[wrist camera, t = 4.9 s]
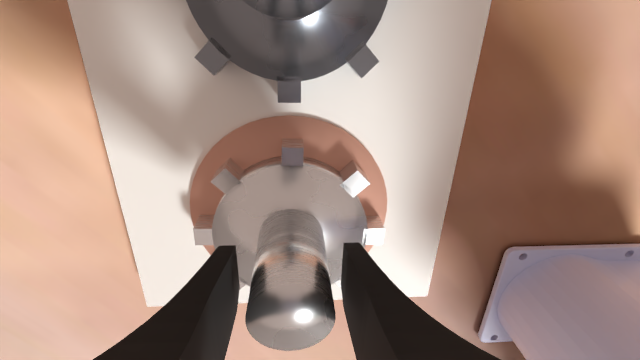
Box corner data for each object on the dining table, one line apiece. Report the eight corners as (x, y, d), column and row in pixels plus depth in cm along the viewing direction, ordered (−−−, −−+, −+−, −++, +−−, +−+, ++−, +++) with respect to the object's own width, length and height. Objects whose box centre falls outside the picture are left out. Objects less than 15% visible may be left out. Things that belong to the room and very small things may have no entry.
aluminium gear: (389, 140, 15) (444, 206, 10) (368, 289, 19) (399, 396, 13) (190, 135, 14) (127, 204, 9) (209, 291, 18) (173, 407, 13)
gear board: (506, -170, 12) (538, -198, 11) (418, 278, 21) (428, 298, 19) (40, -207, 11) (-1, -245, 9) (157, 287, 20) (145, 309, 18)
